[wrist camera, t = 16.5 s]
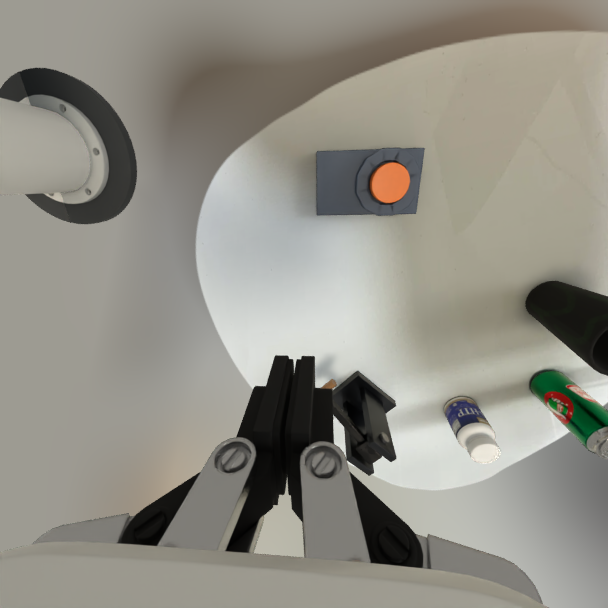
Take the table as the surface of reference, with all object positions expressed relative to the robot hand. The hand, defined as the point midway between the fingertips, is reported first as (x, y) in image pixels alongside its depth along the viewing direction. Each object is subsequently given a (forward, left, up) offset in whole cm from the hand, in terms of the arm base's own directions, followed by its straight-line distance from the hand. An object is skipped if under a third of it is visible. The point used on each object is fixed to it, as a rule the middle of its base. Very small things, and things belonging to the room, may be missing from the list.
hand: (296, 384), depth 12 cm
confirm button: (+8, +8, -26) cm, 28 cm away
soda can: (+36, -22, -29) cm, 51 cm away
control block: (+6, +8, -29) cm, 31 cm away
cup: (+32, -8, -29) cm, 44 cm away
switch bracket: (+8, -26, -29) cm, 40 cm away
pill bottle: (+24, -28, -29) cm, 47 cm away
